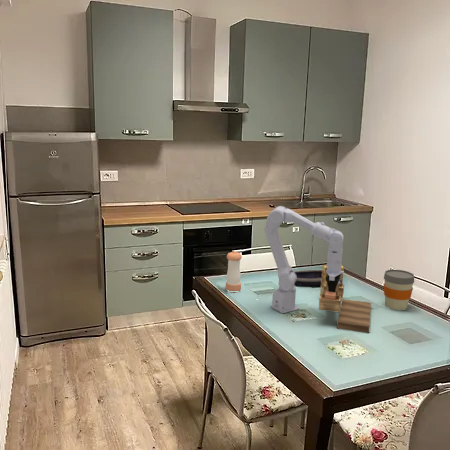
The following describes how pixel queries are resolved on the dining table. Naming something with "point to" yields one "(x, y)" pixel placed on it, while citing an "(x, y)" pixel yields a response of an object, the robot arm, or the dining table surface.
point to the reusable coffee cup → (398, 288)
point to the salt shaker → (233, 271)
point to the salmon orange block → (330, 295)
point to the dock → (354, 316)
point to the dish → (308, 277)
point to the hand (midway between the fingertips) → (332, 291)
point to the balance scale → (331, 304)
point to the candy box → (327, 276)
